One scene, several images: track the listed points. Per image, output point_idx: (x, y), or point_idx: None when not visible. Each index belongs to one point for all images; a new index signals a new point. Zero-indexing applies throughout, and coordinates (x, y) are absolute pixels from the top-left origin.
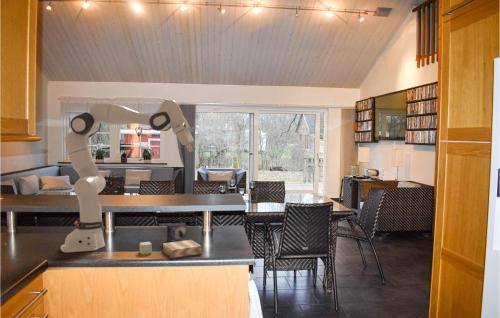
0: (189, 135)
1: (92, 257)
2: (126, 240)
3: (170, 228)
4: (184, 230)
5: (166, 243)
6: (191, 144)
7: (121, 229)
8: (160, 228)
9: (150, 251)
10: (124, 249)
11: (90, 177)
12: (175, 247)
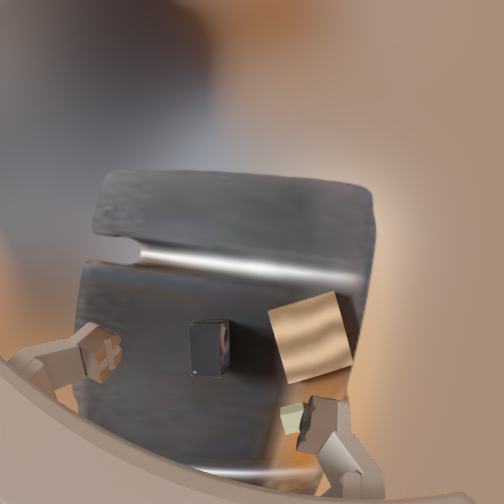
0: (9, 497)
1: (301, 493)
2: (184, 444)
3: (223, 368)
4: (222, 327)
5: (291, 376)
6: (50, 384)
7: None
8: None
9: (303, 406)
10: (258, 451)
11: None
12: (333, 355)
